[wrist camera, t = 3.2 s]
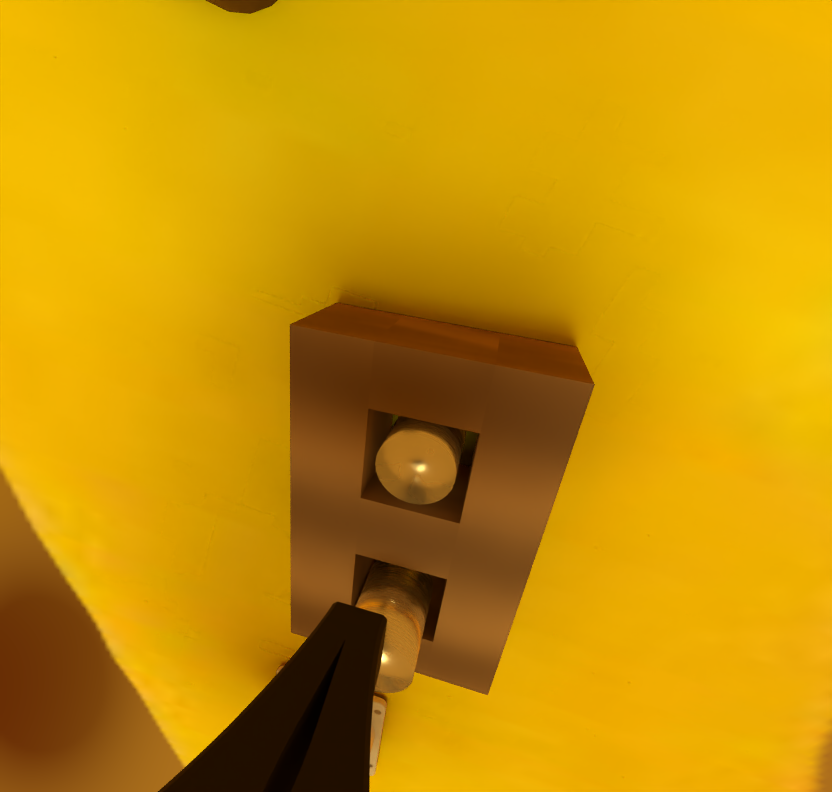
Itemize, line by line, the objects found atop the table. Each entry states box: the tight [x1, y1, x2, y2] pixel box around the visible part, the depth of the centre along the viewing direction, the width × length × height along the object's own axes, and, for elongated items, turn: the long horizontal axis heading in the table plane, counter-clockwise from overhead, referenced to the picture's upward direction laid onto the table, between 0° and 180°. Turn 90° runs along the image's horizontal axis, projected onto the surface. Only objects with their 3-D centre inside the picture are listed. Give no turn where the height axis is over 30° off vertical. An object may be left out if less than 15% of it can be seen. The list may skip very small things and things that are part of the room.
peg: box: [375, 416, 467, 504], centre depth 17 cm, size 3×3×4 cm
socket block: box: [290, 303, 595, 695], centre depth 18 cm, size 16×10×4 cm, turn 172°
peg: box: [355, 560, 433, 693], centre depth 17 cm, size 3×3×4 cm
